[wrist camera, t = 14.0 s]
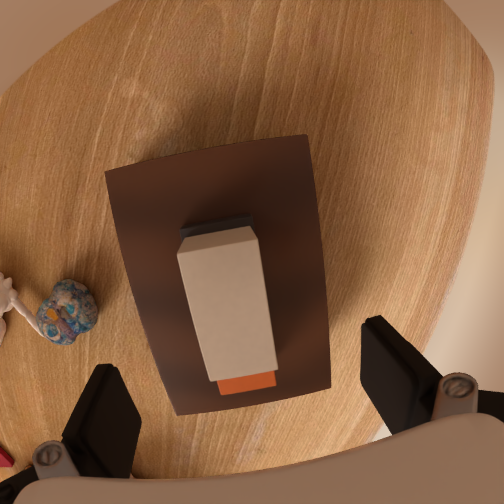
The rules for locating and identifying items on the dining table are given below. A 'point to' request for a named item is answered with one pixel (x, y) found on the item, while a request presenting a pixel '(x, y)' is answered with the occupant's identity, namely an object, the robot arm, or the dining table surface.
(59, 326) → the decorative stone
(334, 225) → the dining table surface
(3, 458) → the handheld gaming console
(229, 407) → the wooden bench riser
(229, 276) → the tricolour layered block
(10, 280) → the decorative figure
